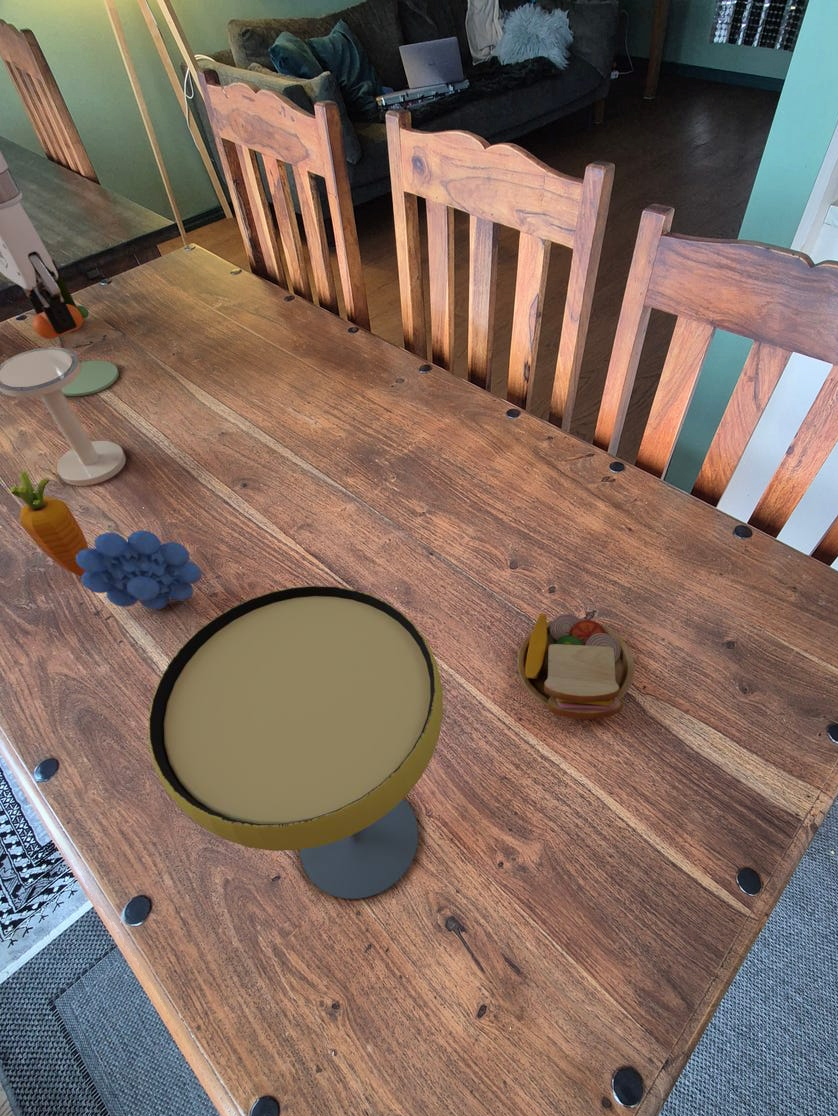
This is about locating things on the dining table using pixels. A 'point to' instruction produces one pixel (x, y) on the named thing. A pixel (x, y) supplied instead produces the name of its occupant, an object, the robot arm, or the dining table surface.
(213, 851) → the dining table surface
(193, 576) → the blue knobbed flower
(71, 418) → the cake stand
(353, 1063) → the dining table surface
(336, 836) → the cocktail glass
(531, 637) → the toy sandwich meal
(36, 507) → the carrot
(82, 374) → the mat
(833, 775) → the dining table surface
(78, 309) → the carrot
